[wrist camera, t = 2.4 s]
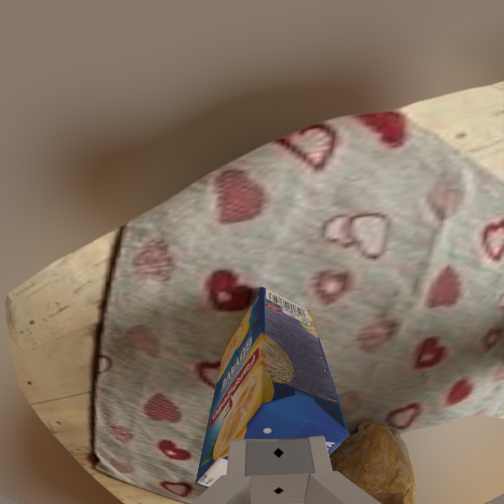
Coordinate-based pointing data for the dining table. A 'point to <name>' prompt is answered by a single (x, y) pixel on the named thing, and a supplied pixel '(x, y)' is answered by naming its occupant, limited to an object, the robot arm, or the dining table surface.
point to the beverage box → (271, 385)
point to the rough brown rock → (376, 463)
